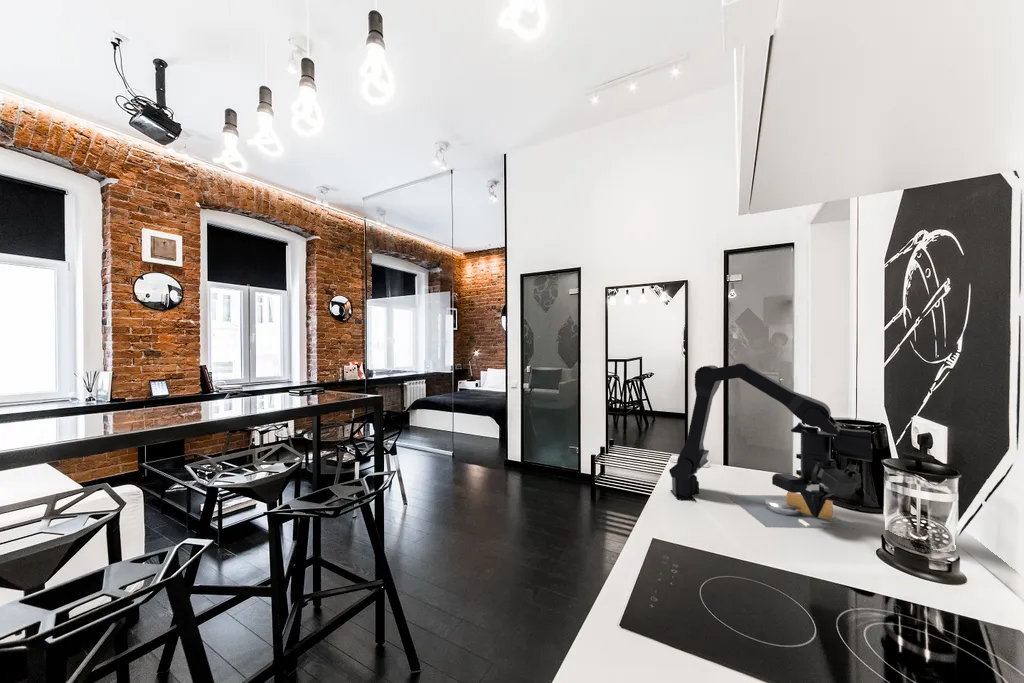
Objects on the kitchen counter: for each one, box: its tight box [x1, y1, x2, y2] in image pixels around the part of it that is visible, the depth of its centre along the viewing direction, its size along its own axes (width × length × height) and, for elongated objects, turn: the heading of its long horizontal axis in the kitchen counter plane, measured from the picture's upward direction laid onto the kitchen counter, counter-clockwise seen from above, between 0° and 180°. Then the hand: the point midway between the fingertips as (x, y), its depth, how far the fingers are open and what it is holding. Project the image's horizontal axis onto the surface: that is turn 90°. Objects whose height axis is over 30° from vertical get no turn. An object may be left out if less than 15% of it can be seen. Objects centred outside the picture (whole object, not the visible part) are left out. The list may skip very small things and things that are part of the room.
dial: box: [765, 491, 834, 520], centre depth 98 cm, size 14×8×5 cm, turn 43°
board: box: [726, 494, 856, 529], centre depth 101 cm, size 20×20×2 cm
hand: (815, 516), depth 93 cm, fingers closed
